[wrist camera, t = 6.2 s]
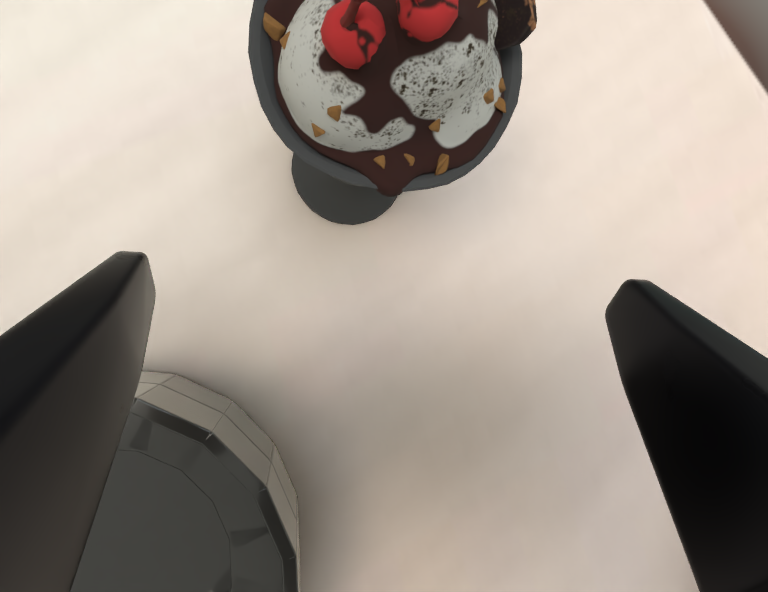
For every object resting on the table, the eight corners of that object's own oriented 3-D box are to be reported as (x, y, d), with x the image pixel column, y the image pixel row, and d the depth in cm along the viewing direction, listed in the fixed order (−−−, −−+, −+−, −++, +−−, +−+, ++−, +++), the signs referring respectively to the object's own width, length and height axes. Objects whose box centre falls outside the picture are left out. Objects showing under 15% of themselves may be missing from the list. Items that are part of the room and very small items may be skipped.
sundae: (263, 235, 21) (179, 68, 6) (281, 83, 21) (242, -441, 6) (412, 254, 22) (649, 152, 7) (427, 109, 22) (686, -280, 7)
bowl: (364, 489, 21) (387, 553, 16) (155, 782, 20) (101, 964, 14) (92, 297, 20) (13, 295, 14) (-164, 601, 18) (-365, 731, 12)
